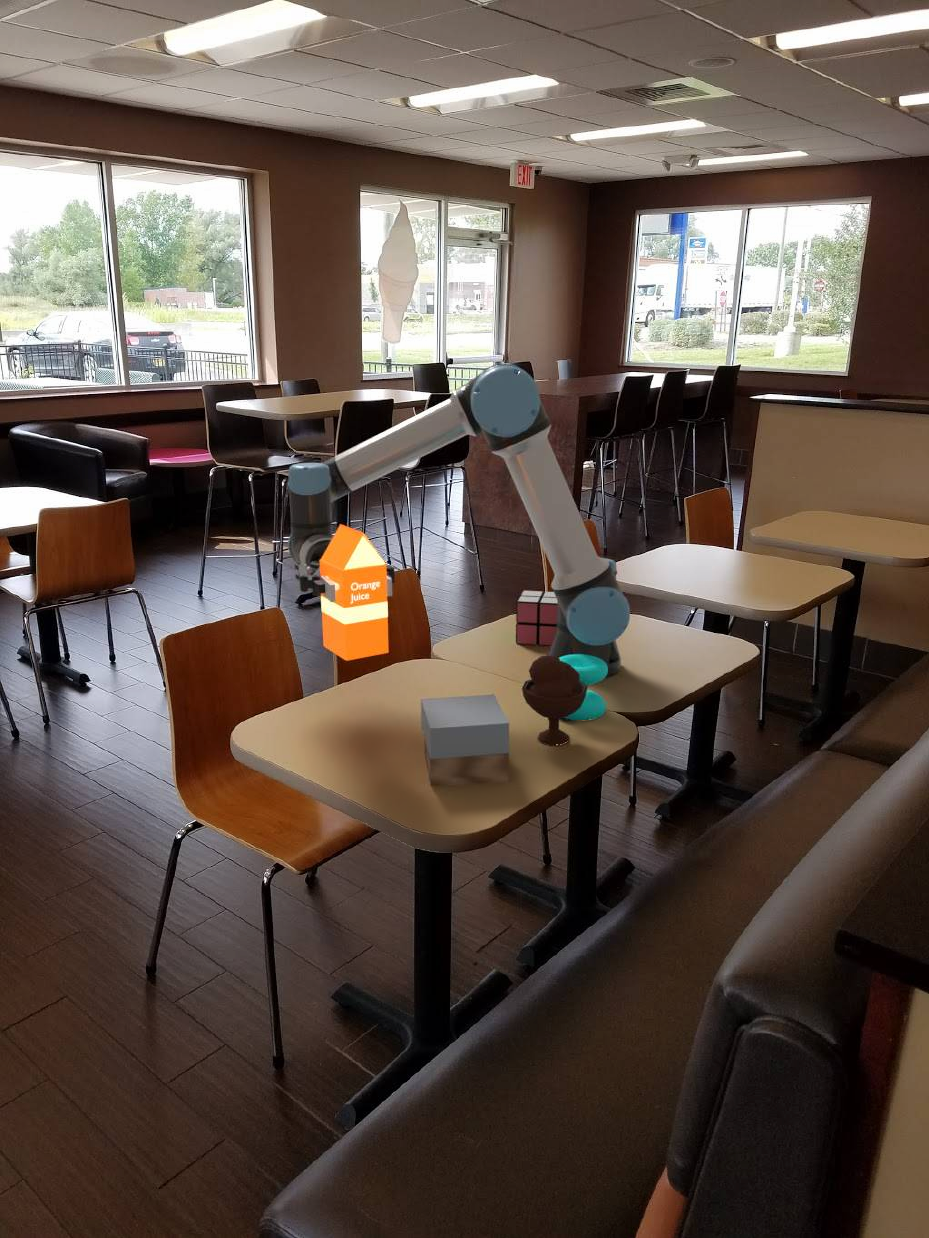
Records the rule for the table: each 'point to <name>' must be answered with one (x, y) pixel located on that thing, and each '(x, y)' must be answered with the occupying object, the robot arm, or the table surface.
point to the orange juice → (354, 597)
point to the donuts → (589, 674)
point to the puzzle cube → (536, 618)
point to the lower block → (467, 769)
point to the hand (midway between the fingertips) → (361, 590)
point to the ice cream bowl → (553, 694)
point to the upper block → (464, 726)
